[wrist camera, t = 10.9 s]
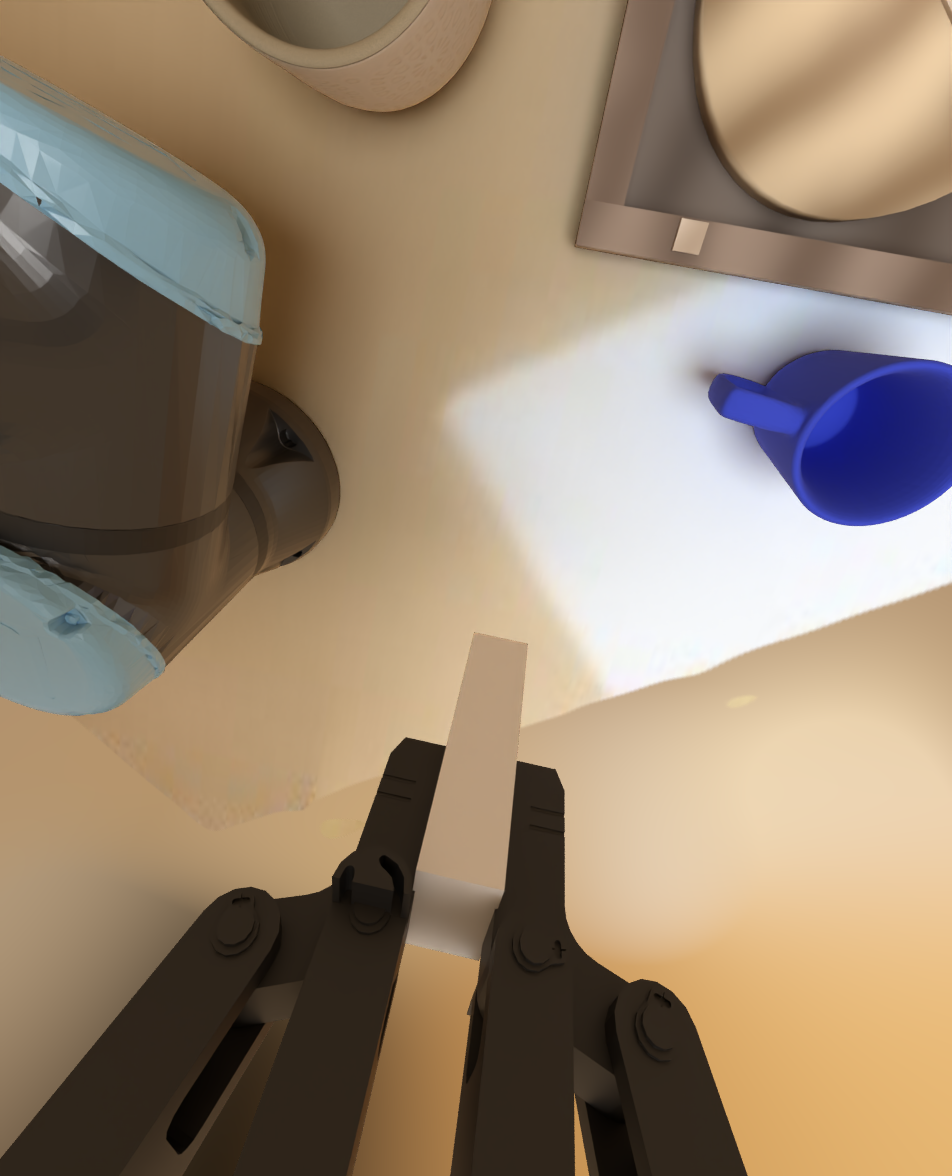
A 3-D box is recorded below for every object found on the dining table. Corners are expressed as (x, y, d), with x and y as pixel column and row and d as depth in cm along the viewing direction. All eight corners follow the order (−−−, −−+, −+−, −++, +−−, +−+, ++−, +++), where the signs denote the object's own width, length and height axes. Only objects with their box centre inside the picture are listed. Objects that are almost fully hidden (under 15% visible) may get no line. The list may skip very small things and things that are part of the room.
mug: (719, 301, 31) (777, 313, 23) (908, 356, 31) (1035, 389, 23) (661, 432, 35) (691, 482, 27) (826, 480, 36) (907, 545, 27)
